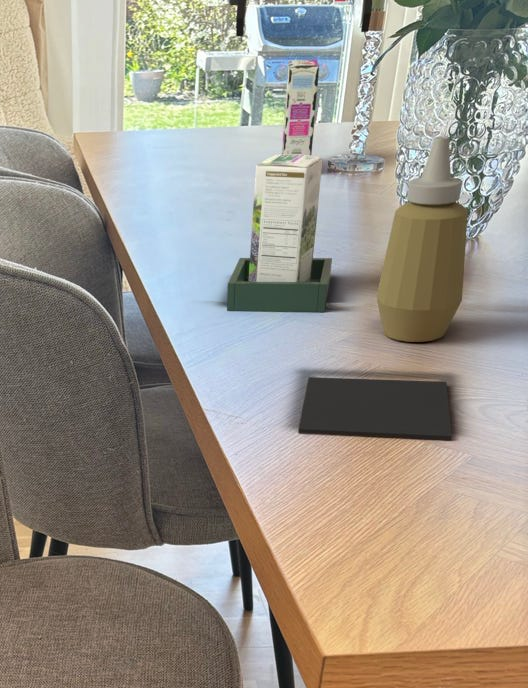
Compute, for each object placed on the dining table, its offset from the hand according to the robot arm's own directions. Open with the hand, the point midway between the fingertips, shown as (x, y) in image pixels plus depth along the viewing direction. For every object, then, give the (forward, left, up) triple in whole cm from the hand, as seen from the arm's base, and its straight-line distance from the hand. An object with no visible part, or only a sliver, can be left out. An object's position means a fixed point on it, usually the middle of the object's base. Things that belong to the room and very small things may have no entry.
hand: (302, 25), depth 109 cm
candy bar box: (+4, -61, -26) cm, 66 cm away
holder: (0, +13, -26) cm, 29 cm away
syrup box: (0, +13, -26) cm, 29 cm away
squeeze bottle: (-15, +25, -26) cm, 39 cm away
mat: (-11, +45, -26) cm, 53 cm away
